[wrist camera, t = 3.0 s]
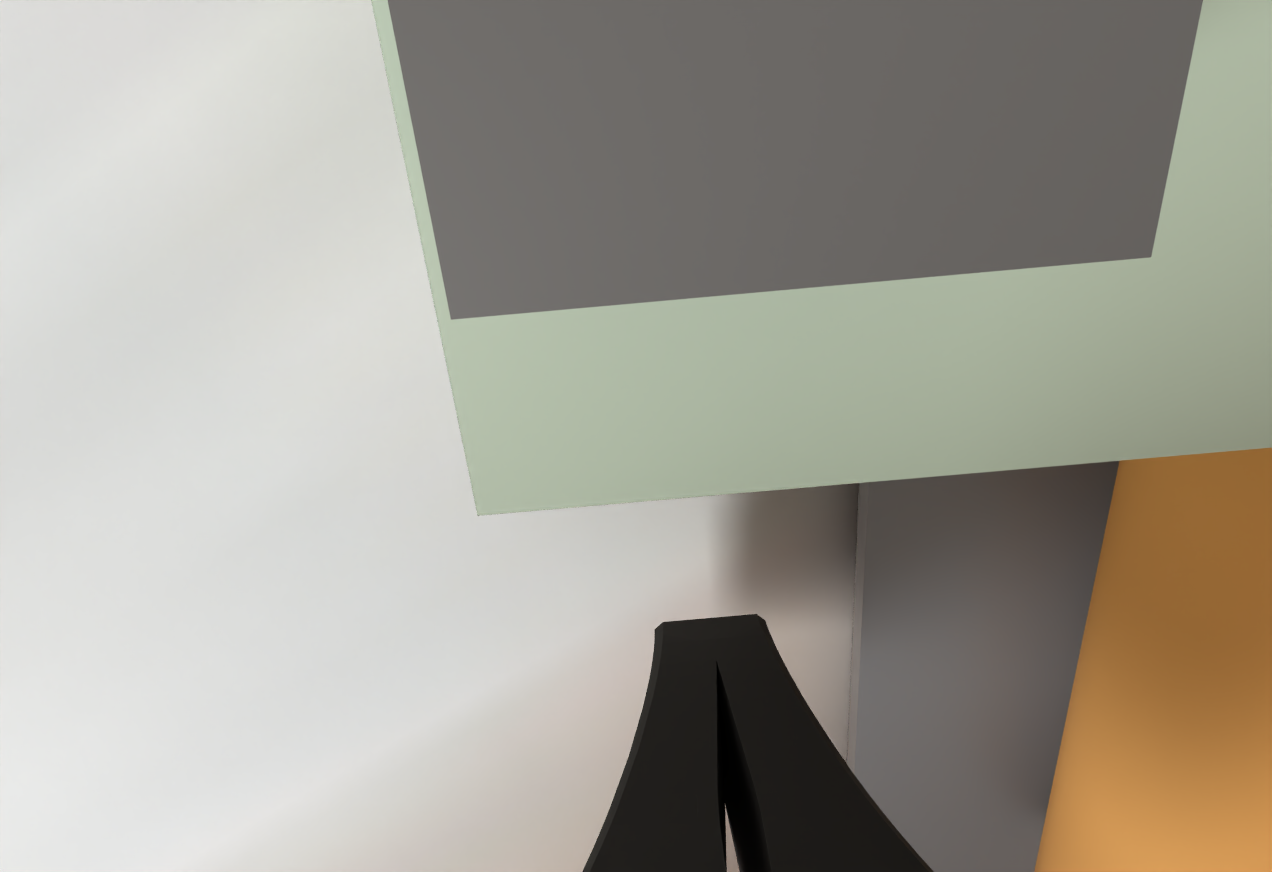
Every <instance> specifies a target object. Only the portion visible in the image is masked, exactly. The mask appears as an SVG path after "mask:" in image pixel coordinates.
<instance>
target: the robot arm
mask: <svg viewBox="0 0 1272 872" xmlns="http://www.w3.org/2000/svg"><path fill="white" fill-rule="evenodd" d="M725 805H726V810H727V814H728V819H729V824H730V828H731V833H732V838H733V842H734V847H735V852H736V856H737V861H738V865H739V870H740V872H934V871H933V870H932V869H931V868H930V867H929V866H928V865H927V863H926V862H925V861H924V860H923V859H922V858H921V857H920V856H919V855H918V853H917V852H916V851H915V850H914V849H913V848H912V846H911V845H910V844H909V843H908V842H907V841H906V839H905V838H904V837H903V836H902V835H901V834H900V832H899V831H898V830H897V829H896V828H895V826H894V825H893V824H892V823H891V822H890V820H889V819H888V818H887V817H886V815H885V814H884V813H883V812H882V810H881V809H880V808H879V806H878V805H877V804H876V803H875V801H874V800H873V799H872V798H871V796H870V795H869V794H868V792H867V791H866V790H865V788H864V787H863V785H862V784H861V783H860V781H859V780H858V779H857V777H856V776H855V775H854V773H853V772H852V771H851V769H850V768H849V767H848V765H847V764H846V762H845V761H844V759H843V758H842V757H841V755H840V754H839V752H838V751H837V749H836V748H835V746H834V745H833V743H832V742H831V740H830V739H829V737H828V736H827V734H826V733H825V731H824V730H823V728H822V726H821V725H820V723H819V722H818V720H817V719H816V717H815V716H814V714H813V713H812V711H811V710H810V708H809V706H808V705H807V703H806V701H805V700H804V698H803V696H802V695H801V693H800V691H799V689H798V688H797V686H796V684H795V682H794V680H793V679H792V677H791V675H790V673H789V672H788V670H787V668H786V666H785V664H784V662H783V660H782V658H781V656H780V654H779V652H778V650H777V648H776V646H775V644H774V641H773V639H772V637H771V635H770V632H769V630H768V627H767V625H766V622H765V620H764V619H762V618H761V617H760V616H758V615H757V614H752V615H741V616H729V617H717V618H706V619H694V620H683V621H671V622H663V623H661V624H660V625H659V626H658V627H657V628H656V629H655V644H654V653H653V661H652V668H651V673H650V679H649V683H648V688H647V692H646V697H645V701H644V705H643V709H642V713H641V716H640V720H639V723H638V727H637V730H636V733H635V737H634V740H633V744H632V747H631V751H630V754H629V757H628V760H627V763H626V766H625V768H624V771H623V774H622V777H621V779H620V782H619V785H618V788H617V790H616V793H615V796H614V799H613V801H612V804H611V807H610V809H609V812H608V815H607V817H606V819H605V822H604V824H603V827H602V829H601V831H600V834H599V836H598V839H597V841H596V843H595V845H594V848H593V850H592V852H591V854H590V857H589V859H588V861H587V863H586V865H585V867H584V870H583V872H727V866H726V826H725Z"/></svg>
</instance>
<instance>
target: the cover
mask: <svg viewBox="0 0 1272 872" xmlns="http://www.w3.org/2000/svg"><path fill="white" fill-rule="evenodd" d="M371 1H372V6H373V11H374V16H375V21H376V26H377V31H378V35H379V40H380V45H381V50H382V55H383V60H384V64H385V69H386V74H387V79H388V84H389V89H390V93H391V98H392V103H393V108H394V113H395V118H396V123H397V127H398V132H399V137H400V142H401V147H402V152H403V156H404V161H405V166H406V171H407V176H408V181H409V185H410V190H411V195H412V200H413V205H414V210H415V215H416V219H417V224H418V229H419V234H420V239H421V244H422V248H423V253H424V258H425V263H426V268H427V273H428V277H429V282H430V287H431V292H432V297H433V302H434V307H435V311H436V316H437V321H438V326H439V331H440V336H441V340H442V345H443V350H444V355H445V360H446V365H447V369H448V374H449V379H450V384H451V389H452V394H453V399H454V403H455V408H456V413H457V418H458V423H459V428H460V432H461V437H462V442H463V447H464V452H465V457H466V461H467V466H468V471H469V476H470V481H471V486H472V491H473V495H474V500H475V505H476V510H477V515H478V516H480V515H492V514H503V513H515V512H527V511H538V510H550V509H562V508H573V507H585V506H597V505H608V504H620V503H631V502H643V501H655V500H666V499H678V498H690V497H701V496H713V495H725V494H736V493H748V492H760V491H771V490H783V489H795V488H806V487H818V486H830V485H841V484H853V483H865V482H876V481H888V480H900V479H911V478H923V477H934V476H946V475H958V474H969V473H981V472H993V471H1004V470H1016V469H1028V468H1039V467H1051V466H1063V465H1074V464H1086V463H1098V462H1109V461H1121V460H1133V459H1144V458H1156V457H1168V456H1179V455H1191V454H1203V453H1214V452H1226V451H1238V450H1249V449H1261V448H1272V0H371Z"/></svg>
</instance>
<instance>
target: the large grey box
mask: <svg viewBox="0 0 1272 872" xmlns="http://www.w3.org/2000/svg"><path fill="white" fill-rule="evenodd" d="M1118 466H1119V461H1109V462H1098V463H1086V464H1074V465H1063V466H1051V467H1039V468H1028V469H1016V470H1004V471H993V472H981V473H969V474H958V475H946V476H934V477H923V478H911V479H900V480H888V481H876V482H865V483H859V496H858V519H857V542H856V565H855V588H854V611H853V635H852V658H851V681H850V704H849V727H848V750H847V765H848V767H849V768H850V769H851V771H852V772H853V773H854V775H855V776H856V777H857V779H858V780H859V781H860V783H861V784H862V785H863V787H864V788H865V790H866V791H867V792H868V794H869V795H870V796H871V798H872V799H873V800H874V801H875V803H876V804H877V805H878V806H879V808H880V809H881V810H882V812H883V813H884V814H885V815H886V817H887V818H888V819H889V820H890V822H891V823H892V824H893V825H894V826H895V828H896V829H897V830H898V831H899V832H900V834H901V835H902V836H903V837H904V838H905V839H906V841H907V842H908V843H909V844H910V845H911V846H912V848H913V849H914V850H915V851H916V852H917V853H918V855H919V856H920V857H921V858H922V859H923V860H924V861H925V862H926V863H927V865H928V866H929V867H930V868H931V869H932V870H933V871H934V872H1034V871H1035V865H1036V861H1037V856H1038V851H1039V846H1040V841H1041V837H1042V832H1043V827H1044V822H1045V817H1046V812H1047V808H1048V803H1049V798H1050V793H1051V788H1052V784H1053V779H1054V774H1055V769H1056V764H1057V760H1058V755H1059V750H1060V745H1061V740H1062V735H1063V731H1064V726H1065V721H1066V716H1067V711H1068V707H1069V702H1070V697H1071V692H1072V687H1073V683H1074V678H1075V673H1076V668H1077V663H1078V658H1079V654H1080V649H1081V644H1082V639H1083V634H1084V630H1085V625H1086V620H1087V615H1088V610H1089V606H1090V601H1091V596H1092V591H1093V586H1094V581H1095V577H1096V572H1097V567H1098V562H1099V557H1100V553H1101V548H1102V543H1103V538H1104V533H1105V529H1106V524H1107V519H1108V514H1109V509H1110V504H1111V500H1112V495H1113V490H1114V485H1115V480H1116V476H1117V471H1118Z"/></svg>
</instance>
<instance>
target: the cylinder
mask: <svg viewBox="0 0 1272 872" xmlns="http://www.w3.org/2000/svg"><path fill="white" fill-rule="evenodd" d="M1034 872H1272V448H1261V449H1249V450H1238V451H1226V452H1214V453H1203V454H1191V455H1179V456H1168V457H1156V458H1144V459H1133V460H1121V461H1119V466H1118V471H1117V476H1116V480H1115V485H1114V490H1113V495H1112V500H1111V504H1110V509H1109V514H1108V519H1107V524H1106V529H1105V533H1104V538H1103V543H1102V548H1101V553H1100V557H1099V562H1098V567H1097V572H1096V577H1095V581H1094V586H1093V591H1092V596H1091V601H1090V606H1089V610H1088V615H1087V620H1086V625H1085V630H1084V634H1083V639H1082V644H1081V649H1080V654H1079V658H1078V663H1077V668H1076V673H1075V678H1074V683H1073V687H1072V692H1071V697H1070V702H1069V707H1068V711H1067V716H1066V721H1065V726H1064V731H1063V735H1062V740H1061V745H1060V750H1059V755H1058V760H1057V764H1056V769H1055V774H1054V779H1053V784H1052V788H1051V793H1050V798H1049V803H1048V808H1047V812H1046V817H1045V822H1044V827H1043V832H1042V837H1041V841H1040V846H1039V851H1038V856H1037V861H1036V865H1035V871H1034Z"/></svg>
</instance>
